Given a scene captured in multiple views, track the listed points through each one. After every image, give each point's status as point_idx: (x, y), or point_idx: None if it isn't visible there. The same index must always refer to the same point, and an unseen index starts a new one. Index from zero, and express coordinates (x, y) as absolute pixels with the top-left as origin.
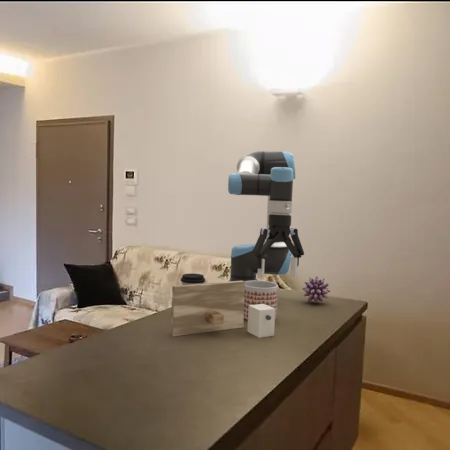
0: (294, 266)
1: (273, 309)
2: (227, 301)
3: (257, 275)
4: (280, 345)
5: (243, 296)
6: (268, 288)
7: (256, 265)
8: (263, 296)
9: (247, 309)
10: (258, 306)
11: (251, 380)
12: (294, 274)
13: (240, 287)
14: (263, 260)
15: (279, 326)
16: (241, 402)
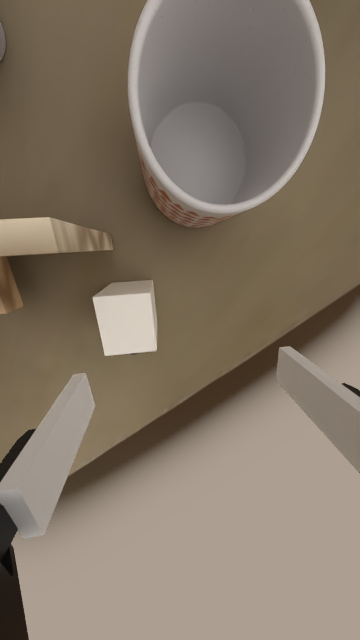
0: (311, 412)
1: (150, 350)
2: (15, 255)
3: (68, 382)
4: (140, 373)
5: (81, 251)
6: (218, 214)
7: (13, 452)
8: (191, 215)
9: (146, 182)
10: (119, 317)
11: None
12: (282, 384)
13: (45, 253)
14: (37, 524)
15: (202, 272)
16: None
